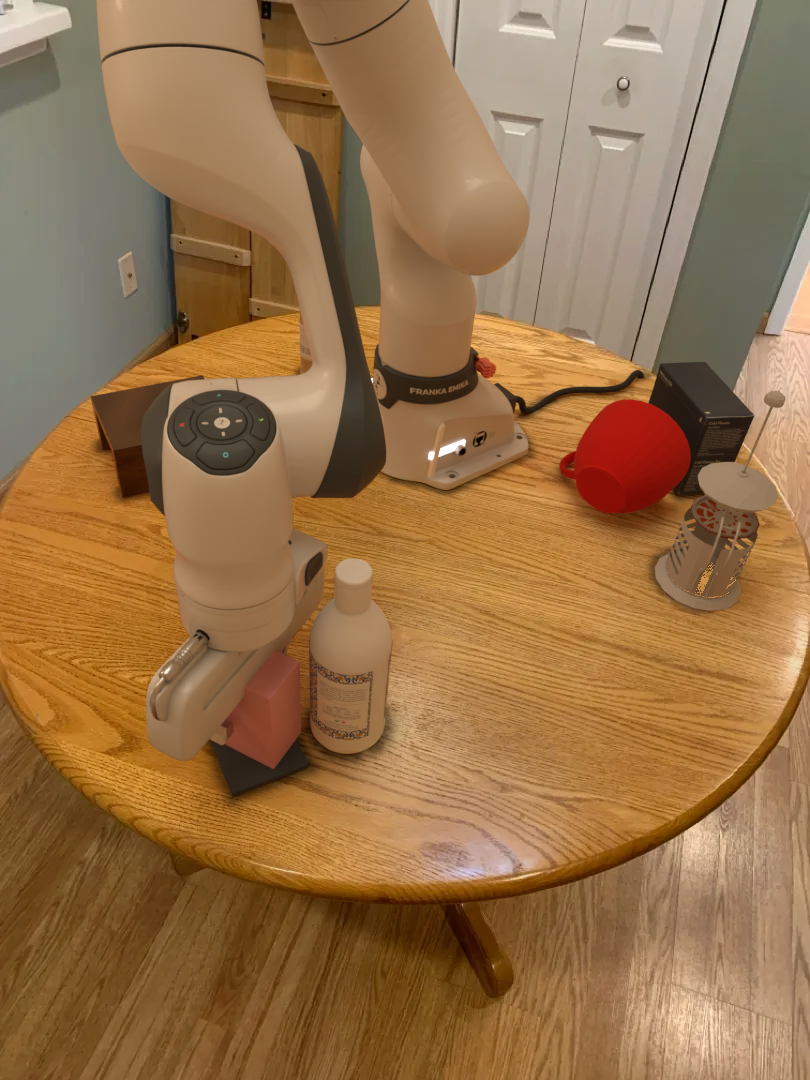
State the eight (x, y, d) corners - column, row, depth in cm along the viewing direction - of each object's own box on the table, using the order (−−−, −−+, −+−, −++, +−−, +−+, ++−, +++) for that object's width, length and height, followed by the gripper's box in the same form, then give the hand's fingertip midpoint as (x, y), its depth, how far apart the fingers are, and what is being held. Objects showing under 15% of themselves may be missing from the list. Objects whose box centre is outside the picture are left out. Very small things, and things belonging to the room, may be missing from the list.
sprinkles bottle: (336, 377, 123) (337, 290, 114) (308, 384, 121) (308, 297, 112) (320, 362, 126) (321, 277, 117) (293, 369, 124) (291, 283, 115)
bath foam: (345, 682, 82) (351, 528, 69) (399, 722, 79) (416, 569, 66) (294, 726, 78) (289, 570, 65) (349, 770, 75) (356, 617, 61)
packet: (220, 692, 79) (211, 620, 73) (301, 732, 77) (300, 661, 70) (190, 726, 76) (178, 654, 70) (273, 769, 74) (269, 699, 67)
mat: (265, 677, 82) (265, 673, 81) (308, 767, 75) (308, 764, 74) (194, 701, 79) (193, 697, 79) (232, 797, 72) (232, 793, 72)
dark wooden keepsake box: (207, 420, 113) (202, 374, 108) (236, 471, 105) (233, 424, 101) (100, 442, 108) (90, 396, 103) (122, 498, 100) (113, 450, 95)
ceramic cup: (553, 533, 110) (593, 489, 115) (666, 535, 97) (706, 485, 101) (512, 450, 105) (556, 407, 110) (625, 440, 92) (669, 392, 96)
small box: (725, 493, 109) (757, 415, 101) (677, 497, 108) (706, 419, 100) (679, 434, 119) (706, 359, 111) (634, 438, 117) (658, 361, 109)
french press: (743, 564, 99) (830, 379, 82) (738, 632, 91) (834, 442, 74) (659, 541, 101) (727, 356, 84) (647, 606, 93) (720, 415, 76)
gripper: (185, 707, 57) (203, 814, 66) (338, 533, 71) (336, 642, 80) (111, 670, 59) (139, 779, 68) (275, 508, 73) (279, 617, 82)
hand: (246, 704), depth 74 cm, fingers open, 6 cm apart
